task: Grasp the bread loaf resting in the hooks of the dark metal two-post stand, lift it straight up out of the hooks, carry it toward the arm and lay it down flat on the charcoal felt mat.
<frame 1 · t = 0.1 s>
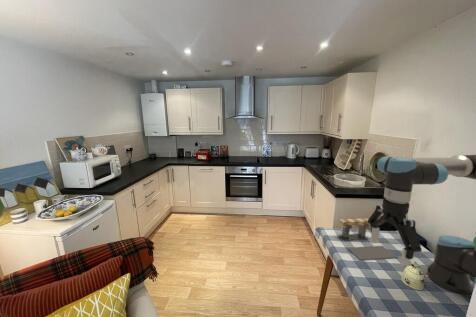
hand: (388, 252, 74), 28 cm above the table, fingers open, 13 cm apart
stand: (353, 237, 134), on the table
bread loaf: (354, 225, 133), point 9 cm above the table, touching stand
mat: (371, 253, 118), on the table
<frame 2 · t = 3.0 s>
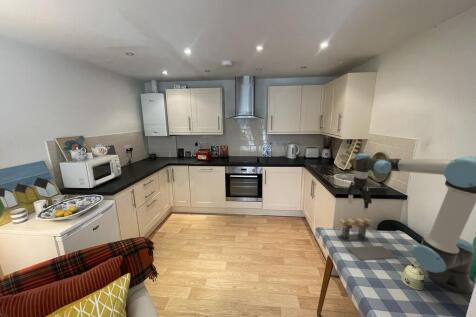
hand: (356, 208, 130), 22 cm above the table, fingers open, 13 cm apart
nothing on the table moved.
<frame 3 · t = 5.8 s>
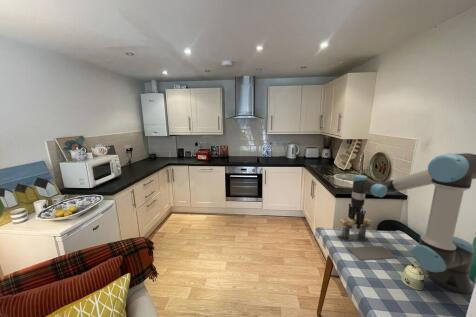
hand: (354, 230, 133), 5 cm above the table, fingers closed on bread loaf, 4 cm apart
bread loaf: (354, 225, 133), point 9 cm above the table, touching gripper, stand
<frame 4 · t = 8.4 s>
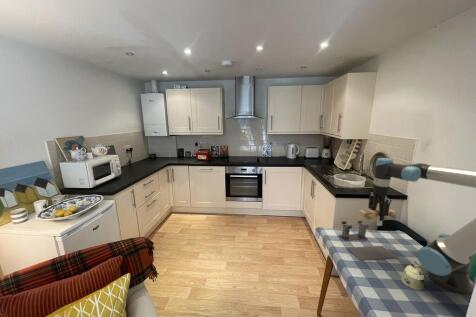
hand: (376, 223, 115), 19 cm above the table, fingers closed on bread loaf, 4 cm apart
bread loaf: (376, 217, 114), point 23 cm above the table, touching gripper
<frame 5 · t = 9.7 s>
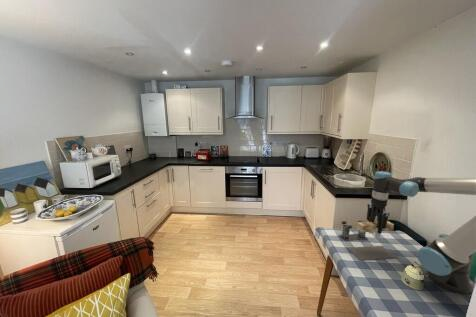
hand: (374, 235, 116), 12 cm above the table, fingers closed on bread loaf, 4 cm apart
bread loaf: (374, 229, 115), point 15 cm above the table, touching gripper
when the fingers open (1 cm above the table, at t = 11.1 s): bread loaf drops 4 cm, resting on mat.
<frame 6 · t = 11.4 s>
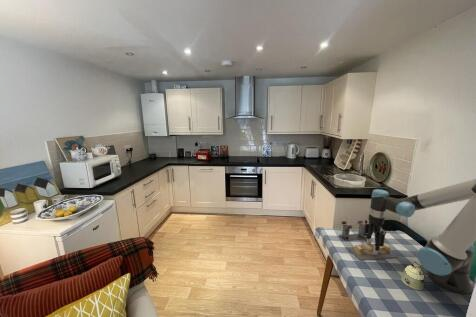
hand: (371, 251, 118), 1 cm above the table, fingers open, 5 cm apart
bread loaf: (371, 252, 118), point 1 cm above the table, touching mat
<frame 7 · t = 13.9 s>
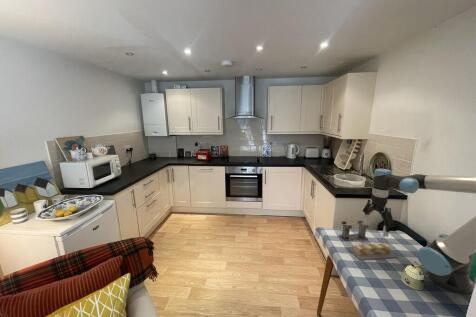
hand: (375, 230, 115), 15 cm above the table, fingers open, 13 cm apart
nothing on the table moved.
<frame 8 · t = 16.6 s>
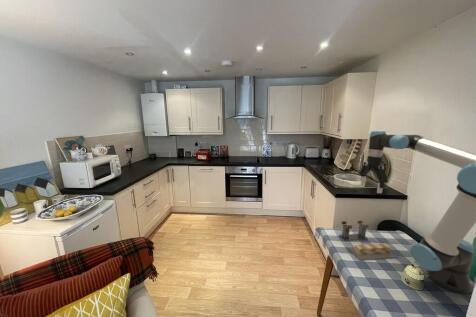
hand: (370, 189, 122), 37 cm above the table, fingers open, 13 cm apart
nothing on the table moved.
at the end: bread loaf inside the target area (0.2 cm from its centre), point 0.6 cm above the table; bread loaf touching mat; the gripper is holding nothing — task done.
